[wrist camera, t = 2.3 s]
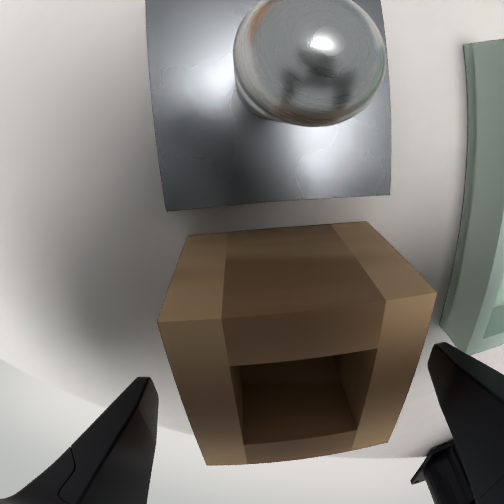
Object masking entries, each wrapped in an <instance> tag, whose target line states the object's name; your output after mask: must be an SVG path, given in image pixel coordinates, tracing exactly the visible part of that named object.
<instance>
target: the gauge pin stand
mask: <svg viewBox="0 0 504 504" xmlns="http://www.w3.org/2000/svg"><path fill="white" fill-rule="evenodd" d="M145 4H146V29H147V47H148V62H149V75H150V87H151V98H152V108H153V117H154V126H155V135H156V143H157V151H158V159H159V166H160V173H161V180H162V187H163V194H164V200H165V207H166V212H169V211H178V210H187V209H197V208H207V207H217V206H228V205H239V204H251V203H263V202H276V201H289V200H304V199H320V198H337V197H357V196H380V195H390V182H391V107H390V86H389V71H388V59H387V48H386V39H385V30H384V22H383V15H382V8H381V1H380V0H145Z"/></svg>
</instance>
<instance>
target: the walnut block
mask: <svg viewBox="0 0 504 504" xmlns="http://www.w3.org/2000/svg"><path fill="white" fill-rule="evenodd" d="M436 296H437V292H436V290H435V289H434V288H433V287H432V286H431V285H430V284H429V283H428V282H427V281H426V280H425V279H424V278H423V277H422V276H421V275H420V274H419V273H418V271H417V270H416V269H415V268H414V267H413V266H412V265H411V264H410V263H409V262H408V261H407V260H406V259H405V258H404V257H403V256H402V255H401V254H400V253H399V252H398V251H397V250H396V249H395V248H394V247H393V246H392V245H391V244H390V243H389V242H388V241H387V240H386V239H385V238H384V237H383V236H381V235H380V234H379V233H378V232H377V231H376V230H375V229H374V228H373V227H372V226H371V225H370V224H369V223H368V222H353V223H339V224H325V225H312V226H299V227H286V228H274V229H262V230H250V231H238V232H227V233H216V234H205V235H194V236H187V239H186V242H185V244H184V247H183V250H182V252H181V255H180V258H179V261H178V263H177V266H176V269H175V271H174V274H173V277H172V280H171V283H170V285H169V288H168V291H167V294H166V297H165V300H164V303H163V306H162V309H161V311H160V314H159V317H158V320H157V324H158V327H159V331H160V334H161V338H162V341H163V344H164V348H165V351H166V354H167V357H168V361H169V364H170V367H171V370H172V373H173V376H174V379H175V382H176V385H177V388H178V391H179V394H180V397H181V400H182V403H183V405H184V408H185V411H186V414H187V416H188V419H189V422H190V424H191V427H192V430H193V432H194V435H195V438H196V440H197V443H198V445H199V447H200V450H201V452H202V455H203V457H204V460H205V462H206V465H242V464H258V463H271V462H281V461H290V460H298V459H306V458H312V457H319V456H325V455H331V454H337V453H342V452H347V451H352V450H357V449H362V448H366V447H370V446H375V445H379V444H383V443H387V442H388V441H389V438H390V436H391V434H392V432H393V429H394V427H395V424H396V422H397V420H398V417H399V415H400V412H401V410H402V407H403V404H404V402H405V399H406V397H407V394H408V391H409V388H410V386H411V383H412V380H413V377H414V374H415V371H416V368H417V365H418V362H419V359H420V355H421V352H422V349H423V345H424V342H425V339H426V335H427V331H428V328H429V324H430V320H431V316H432V312H433V308H434V304H435V300H436Z"/></svg>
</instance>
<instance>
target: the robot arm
mask: <svg viewBox="0 0 504 504" xmlns="http://www.w3.org/2000/svg"><path fill="white" fill-rule="evenodd" d="M428 370H429V373H430V376H431V379H432V382H433V385H434V388H435V392H436V395H437V398H438V401H439V404H440V407H441V409H442V412H443V414H444V416H445V419H446V421H447V424H448V426H449V428H450V431H451V433H452V436H453V438H454V441H453V442H450V443H448V444H445V445H442V446H440V447H437V448H435V449H433V450H432V451H431V452H430V453H429V454H428V456H427V457H426V459H425V461H424V462H423V463H422V465H421V466H420V468H419V469H418V471H417V472H416V474H415V475H414V476H413V478H412V479H411V484H416V483H419V482H422V481H425V480H426V482H427V485H428V488H429V490H430V493H431V495H432V498H433V501H434V503H435V504H504V375H503V374H501V373H500V372H498V371H496V370H494V369H493V368H491V367H489V366H487V365H485V364H484V363H482V362H480V361H478V360H477V359H475V358H473V357H471V356H470V355H468V354H466V353H464V352H462V351H461V350H459V349H457V348H455V347H453V346H452V345H450V344H448V343H446V342H442V343H438V344H435V345H434V346H433V348H432V351H431V354H430V357H429V360H428ZM158 402H159V399H158V394H157V391H156V389H155V386H154V384H153V381H152V379H151V378H150V377H137V378H136V379H135V380H134V381H133V382H132V383H131V384H130V385H129V386H128V387H127V388H126V389H125V390H124V391H123V392H122V393H121V394H120V396H119V397H118V398H117V399H116V400H115V401H114V402H113V403H112V404H111V405H110V406H109V407H108V408H107V409H106V410H105V411H104V412H103V413H102V414H101V415H100V416H99V417H98V418H97V419H96V420H95V421H94V423H92V425H91V426H90V427H89V428H88V429H87V430H86V431H85V432H84V433H83V434H82V435H81V436H80V437H79V438H78V439H77V440H76V441H75V442H74V443H73V444H72V445H71V447H69V448H68V449H67V450H66V451H65V452H64V453H63V454H62V455H61V456H60V457H59V458H58V459H57V460H56V461H55V462H54V463H53V464H52V465H51V466H50V467H48V468H47V469H46V470H45V471H44V472H43V473H41V474H40V475H39V476H38V477H37V478H35V479H34V480H33V481H32V482H30V483H29V484H28V485H27V486H25V487H24V488H23V489H22V490H20V491H19V492H18V493H16V494H14V495H13V496H10V497H8V498H4V499H0V504H147V497H148V490H149V483H150V477H151V471H152V464H153V459H154V453H155V446H156V437H157V436H156V435H157V419H158Z"/></svg>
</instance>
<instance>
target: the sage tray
mask: <svg viewBox="0 0 504 504" xmlns="http://www.w3.org/2000/svg"><path fill="white" fill-rule="evenodd" d="M464 54H465V64H466V76H467V95H468V150H467V169H466V182H465V193H464V202H463V211H462V218H461V226H460V232H459V239H458V245H457V250H456V256H455V261H454V266H453V271H452V276H451V280H450V285H449V289H448V293H447V298H446V302H445V306H444V309H443V313H442V317H441V321H440V324H439V325H440V326H441V328H442V329H443V330H444V332H445V333H446V334H447V335H448V337H449V338H450V339H451V341H452V342H453V343H454V345H455V346H456V347H457V349H459V350H461V351H462V352H464V353H466V354H468V355H472V354H476V353H479V352H482V351H485V350H488V349H491V348H493V347H496V346H499V345H502V344H504V39H500V40H491V41H484V42H477V43H471V44H465V45H464Z"/></svg>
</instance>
